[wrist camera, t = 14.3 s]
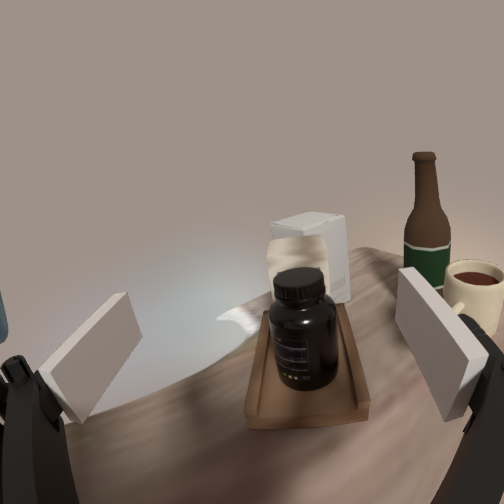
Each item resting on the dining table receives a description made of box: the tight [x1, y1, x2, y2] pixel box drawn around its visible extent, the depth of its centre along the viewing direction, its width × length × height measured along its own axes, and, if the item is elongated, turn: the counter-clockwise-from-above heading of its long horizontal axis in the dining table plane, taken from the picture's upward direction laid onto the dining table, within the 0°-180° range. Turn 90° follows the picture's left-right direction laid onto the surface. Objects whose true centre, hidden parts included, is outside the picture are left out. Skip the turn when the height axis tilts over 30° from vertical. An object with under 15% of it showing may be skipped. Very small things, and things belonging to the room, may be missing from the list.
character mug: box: [443, 259, 504, 338], centre depth 24 cm, size 11×7×13 cm, turn 116°
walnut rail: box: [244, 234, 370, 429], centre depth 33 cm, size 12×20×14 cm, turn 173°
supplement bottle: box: [268, 267, 339, 392], centre depth 29 cm, size 7×7×12 cm
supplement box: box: [270, 211, 351, 304], centre depth 48 cm, size 9×9×15 cm
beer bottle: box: [404, 152, 451, 299], centre depth 38 cm, size 8×8×24 cm
